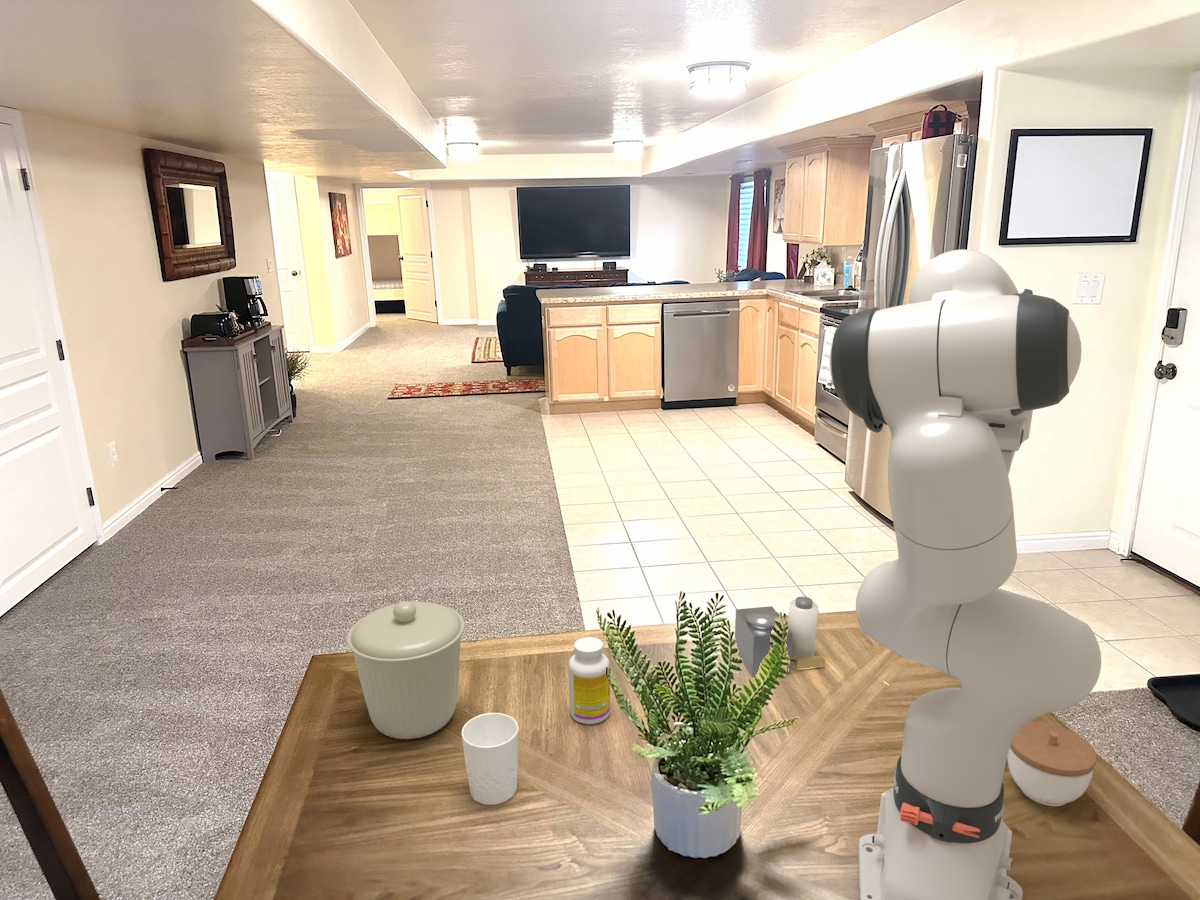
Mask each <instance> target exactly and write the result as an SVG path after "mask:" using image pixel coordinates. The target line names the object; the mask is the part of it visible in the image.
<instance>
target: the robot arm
mask: <svg viewBox="0 0 1200 900" xmlns="http://www.w3.org/2000/svg"><path fill="white" fill-rule="evenodd" d="M909 290H910V291H909V297H908V303H906V304H900V305H895V306H891V307H886V308H883V309H880V308H879V307H877V306H875V307H872V308H871V307H870V308H867V309H863V310H861V311H857V312H855V313H852V314H850V315H848V316H846V317H844V318H843V319H842V321H841V322H840V323H839V325H838V326H837V328H836V329H835V332H834V334H833V338H832V343H831V347H830V351H829V353H830V354H829V371H830V376H831V379H832V382H833V387H834V390H835V392H836V395H837V397H838V398H839V400H840V401H841V402H842V403H843V405H845V407H846V408H847V409H848V410H849V411H850V412H851V413H852V414H854V415H855V416H857V417H859V418H860V419H862V420H863V422H864V424H865V427H866V428H867V429H868V430H870V431H871V432H874V433H880V432H882V430H883V428H884V426H885V425H886V426H888V428H889V431H890V442H889V447H888V457H887V483H888V484H887V488H888V498H889V507H890V512H891V513H890V514H891V518H892V522H893V528H894V532H895V538H896V545H897V546H896V547H897V555H898V558H896V559H895V560H891V561H885V562H883V563H881V564H879V565H877V566H876V567H875V568H873V569H872V570H871V571H870V572H868V574H867V575H866V576H865V577H864V579H863V580H862V582H861V584H860V586H859V587H858V591H857V594H856V599H855V611H856V618H857V622H858V625H859V627H860V630H861V631H862V633H863V635H865V636H867V637H869V639H870V638H871V640H873V641H875V642H876V643H878V644H879V645H881V646H882V647H884V648H886V649H887V650H889V651H891V652H892V653H894V654H896V655H897V656H900V657H903V658H905V659H907V660H910V661H912V662H914V663H918V664H920V665H922V666H925V667H928V668H930V669H933V670H936V671H938V672H939V673H943V674H946V675H949V676H950V677H952V678H954V679H956V680H957V681H958V682H959V684H960V687H945V688H939V689H934V690H931V691H928V692H925V693H923V694H921V695H920V696H918V697H917V698H915V699H914V700H913V702H912V703H911V704H910V705H909V707H908V709H907V711H906V714H905V719H904V729H903V730H904V731H903V739H902V746H901V747H902V748H901V749H902V750H901V754H900V756H899V757H898V758H897V759H898V760H897V762H896V766H895V770H894V774H893V787H891V788H890V789H888V790H885V791H884V792H882V793H881V796H880V803H879V805H880V806H879V811H878V812H879V814H878V822H877V830H876V833H869V834H864V835H862V836H861V837H860V838H859V842H858V846H857V849H858V850H857V852H858V853H857V855H858V856H857V857H858V882H859V884H858V885H859V886H858V887H859V888H860V894H859V900H1023V899H1024V898H1023V897H1024V895H1023V894H1024V891H1023V888H1022V886H1020V884H1019V883H1018V882H1017V881H1015V880H1014V879H1013V878H1012V877H1010V876H1009V875H1007V871H1011V869H1012V866H1013V857H1010V849H1011V843H1012V836H1013V831H1012V830H1011V829H1010V827H1009V826H1008V825H1007V824H1006V823H1005V821H1004V820H1003V818H1002V815H1003V813H1004V808H1005V801H1006V800H1005V786H1004V782H1003V779H1004V773H1005V768H1006V763H1007V761H1008V759H1007V756H1008V752H1009V748H1010V745H1011V742H1012V740H1013V738H1014V736H1015V735H1016V733H1017V732H1018V731H1019V729H1020V728H1021V727H1022V726H1023V725H1024V724H1026V723H1027V722H1031V720H1033V719H1036V718H1037V717H1039V716H1042V715H1046V714H1049V713H1054V712H1059V711H1065V710H1067V709H1069V708H1072V707H1074V706H1076V705H1078V704H1079V703H1081V702H1082V701H1083V700H1084V699H1085V698H1087V697H1088V696H1089V695H1090V694H1091V692H1092V691H1093V690H1094V688H1095V687H1096V684H1097V682H1098V680H1099V678H1100V674H1101V670H1102V654H1101V653H1102V652H1101V648H1100V645H1099V642H1098V638H1097V637H1096V635H1095V633H1094V631H1093V629H1092V628H1091V627H1090V625H1089V624H1088V623H1086V622H1084V621H1083V620H1081V619H1078V618H1077V617H1075V616H1074V615H1071V614H1069V613H1067V612H1065V611H1064V610H1061V609H1059V608H1057V607H1055V606H1053V605H1052V604H1048V603H1047V602H1045V601H1041V600H1039V599H1035V598H1032V597H1029V596H1026V595H1022V594H1019V593H1015V592H1013V591H1009V590H1005V589H1002V588H1000V587H1002V586H1003V585H1004V584H1005V583H1006V582H1007V581H1008V580H1009V579H1010V577H1011V576H1012V574H1013V572H1014V570H1015V567H1016V563H1017V561H1018V560H1017V559H1018V550H1017V538H1016V537H1017V536H1016V527H1015V526H1016V524H1015V512H1014V502H1013V494H1012V487H1011V484H1010V477H1009V474H1010V470H1011V466H1012V463H1013V461H1014V456H1015V454H1016V452H1018V451H1019V450H1020V448H1021V445H1022V444H1023V443H1024V442H1025V441H1027V440H1028V439H1029V437H1030V433H1031V425H1032V418H1033V411H1034V410H1040V409H1045V408H1048V407H1052V406H1055V405H1058V404H1060V403H1061V401H1063V399H1064V398H1065V397H1066V396H1068V394H1069V393H1070V387H1071V386H1072V384H1073V383H1074V381H1075V379H1076V377H1077V374H1078V371H1079V369H1080V366H1081V360H1082V341H1081V336H1080V333H1079V331H1078V328H1077V326H1076V324H1075V322H1074V320H1073V319H1072V317H1071V316H1070V310H1069V309H1068V308H1067V307H1066V306H1064V305H1063V304H1062V303H1060V302H1058V300H1055V299H1054V298H1052V297H1048V296H1044V295H1038V294H1034V293H1033V290H1032V289H1030V288H1029V289H1027V288H1024V290H1023V291H1022V292H1021V293H1019V291H1018V289H1017V286H1016V285H1015V282H1013V280H1012V278H1011V277H1010V275H1009V274H1008V273H1007V271H1006V270H1005V269H1004V268H1003V267H1002V266H1001V265H1000V264H999V263H998V262H997V261H996V260H994V259H993V258H991V256H989V255H987V254H985V253H983V252H981V251H976V250H971V249H963V248H962V249H954V250H950V251H945V252H943V253H941V254H938V255H937V256H935V257H933V258H931V259H929V261H928V262H926V263H925V264H924V265H923V266H922V267H921V268H919V270H918V272H917V273H916V274H915V277H914V278H913V281H912V283H911V286H910V289H909Z"/></svg>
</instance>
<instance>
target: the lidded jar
mask: <svg viewBox="0 0 1200 900" xmlns="http://www.w3.org/2000/svg"><path fill="white" fill-rule="evenodd" d="M1097 760H1098V756H1097V752H1096V750H1095V749H1094V747H1093V746H1092V745H1091V744H1090V743H1089V742H1088V740H1086V739H1085V738H1083V736H1080V735H1079V734H1077V732H1074V731H1072V730H1071V729H1068V728H1065V727H1063V726H1059V725H1057V724H1053V723H1049V722H1042V721H1028V722H1027V723H1026V724H1024V725H1023V726H1022V727H1021V728H1020V729H1019V731H1018V732H1017V733H1016V735H1015V736H1014V738H1013V740H1012V742H1011V745H1010V748H1009V752H1008V756H1007V765H1008V770H1009V773H1010V775H1011V778H1012V779H1013V781H1014V782H1015V784H1016V785H1017V786H1018V787H1019V788H1020V790H1021V792H1022V793H1023V794H1024V796H1025V797H1027V798H1029V799H1030V800H1031V801H1034V802H1035V803H1038V804H1040V805H1043V806H1048V807H1062V806H1065V805H1066V804H1069V803H1071V802H1074V801H1076V800H1077V799H1079V798H1080V797H1082V796H1083V794H1084V793H1085V792H1086V791H1087V789H1088V788H1089V785H1090V784H1091V781H1092V778H1093V774H1094V772H1095V771H1094V770H1095V768H1096V765H1097Z"/></svg>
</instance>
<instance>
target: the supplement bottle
mask: <svg viewBox="0 0 1200 900" xmlns="http://www.w3.org/2000/svg"><path fill="white" fill-rule="evenodd" d="M573 652H574V654H573V655H572V656H571V657H570V659H569V661H568V687H569V688H568V689H569V693H568V694H569V697H568V699H569V713H570V716H571V718H572V719H574V721H576V722H578V723H580V724H584V725H595V724H598V723H601V722H604V720H606V719H607V718H608V717H609V716H610V713H611V683H609V681H608V679H607V676H606V667H609V668H610V666H611V665H610V661H609V658H608V656H607V655H605V654H604V643H603V641H602V640H601V639H599V638H597V637H591V636H586V637H585V636H584V637H581V638H579V639H577V640H576V641H575V642H574V644H573Z"/></svg>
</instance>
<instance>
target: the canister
mask: <svg viewBox="0 0 1200 900" xmlns="http://www.w3.org/2000/svg"><path fill="white" fill-rule="evenodd" d="M465 626H466V624H465V621H464V618H463V616H462V615H461V614H460V613H459V612H458V611H456V610H454V609H453V608H451V607H448V606H444V605H441V604H439V603H434V602H429V601H409V600H404V601H400V602H397V603H394V604H391V605H387V606H384V607H381V608H378V609H376V610H373V611H372V612H370V613H369V614H367V615H365V616H364V617H362V618H360V619H359V620H357V622H355V623H354V624H353V625H352V626H351V628H350V630H348V632H347V636H346V644H347V647H348V648H349V650H350V651H351V652H352V653H353V656H354V662H355V665H356V669H357V673H358V678H359V681H360V685H361V689H362V692H363V693H362V694H363V697H364V700H365V704H366V707H367V710H368V714H369V717H370V720H371V722H372V724H373V726H374V727H375V728H376V729H377V730H378V731H379V732H380V733H382V734H383V735H385V736H387V737H389V738H394V739H396V740H398V739H400V740H412V739H413V740H415V739H420V738H423V737H427V736H428V735H429V736H430V735H432V734H433V733H436V732H438V731H439V730H441V729H442V728H443V727H444V726H446V725H447V724H448V722H449V721H450V720H451V718H452V717H453V716H454V713H455V710H456V708H457V701H458V689H459V680H460V679H459V675H460V658H461V655H460V654H461V639H462V638H461V637H462V636H463V634H464V632H465V629H466V628H465Z"/></svg>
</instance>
